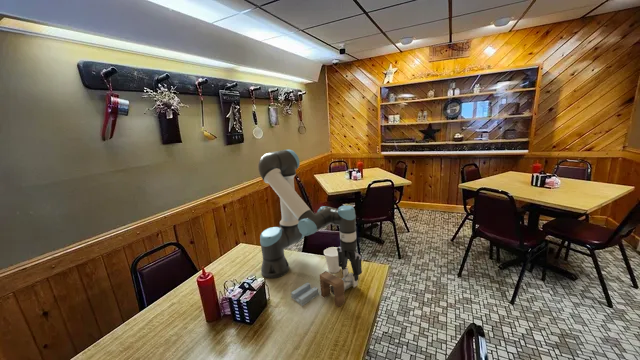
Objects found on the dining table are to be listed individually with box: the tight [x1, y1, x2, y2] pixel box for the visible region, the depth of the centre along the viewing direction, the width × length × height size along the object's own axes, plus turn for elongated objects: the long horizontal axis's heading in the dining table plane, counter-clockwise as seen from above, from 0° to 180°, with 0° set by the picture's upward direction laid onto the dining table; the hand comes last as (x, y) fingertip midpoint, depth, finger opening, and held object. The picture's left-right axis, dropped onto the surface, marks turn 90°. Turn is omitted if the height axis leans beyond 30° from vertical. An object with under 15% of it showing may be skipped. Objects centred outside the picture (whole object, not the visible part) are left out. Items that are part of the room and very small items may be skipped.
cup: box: [323, 246, 341, 274], centre depth 135 cm, size 10×10×11 cm
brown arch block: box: [319, 270, 346, 308], centre depth 113 cm, size 11×4×11 cm, turn 44°
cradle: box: [290, 282, 320, 307], centre depth 117 cm, size 8×10×3 cm
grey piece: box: [330, 272, 353, 296], centre depth 119 cm, size 13×5×5 cm, turn 133°
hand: (350, 283), depth 122 cm, fingers closed on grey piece, 5 cm apart
